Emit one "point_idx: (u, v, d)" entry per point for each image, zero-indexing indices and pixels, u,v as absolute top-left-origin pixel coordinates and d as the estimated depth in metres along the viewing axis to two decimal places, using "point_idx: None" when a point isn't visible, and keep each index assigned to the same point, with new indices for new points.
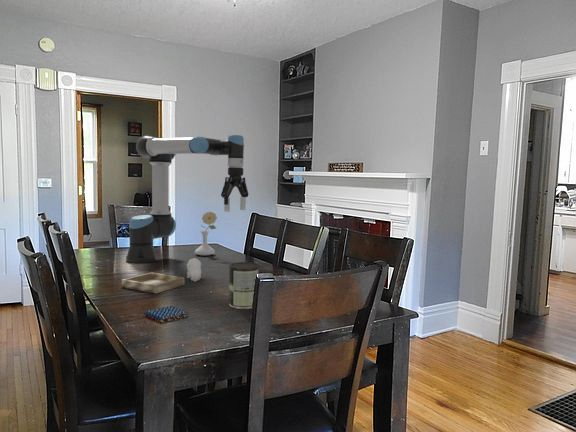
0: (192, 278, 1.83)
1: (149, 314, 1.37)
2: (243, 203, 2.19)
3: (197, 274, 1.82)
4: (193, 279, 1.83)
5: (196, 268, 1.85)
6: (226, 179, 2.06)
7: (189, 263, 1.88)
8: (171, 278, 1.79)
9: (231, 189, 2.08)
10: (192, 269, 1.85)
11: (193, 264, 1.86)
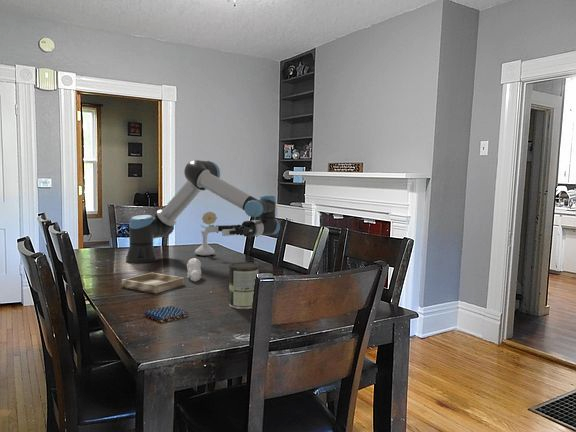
0: (192, 278, 1.83)
1: (149, 314, 1.37)
2: (212, 230, 2.00)
3: (197, 274, 1.82)
4: (193, 279, 1.83)
5: (196, 268, 1.85)
6: (250, 229, 1.98)
7: (189, 263, 1.88)
8: (171, 278, 1.79)
9: None
10: (192, 269, 1.85)
11: (193, 264, 1.86)
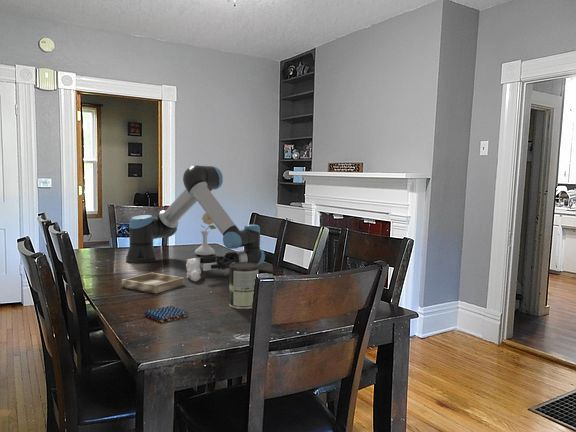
0: (192, 278, 1.83)
1: (149, 314, 1.37)
2: None
3: (197, 274, 1.82)
4: (193, 279, 1.83)
5: (196, 268, 1.85)
6: (233, 262, 1.92)
7: (189, 263, 1.88)
8: (171, 278, 1.79)
9: None
10: (192, 269, 1.85)
11: (193, 264, 1.86)
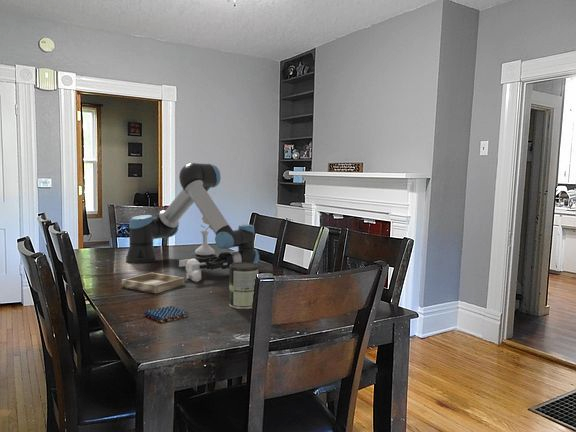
0: (194, 278, 1.82)
1: (149, 314, 1.37)
2: None
3: (199, 274, 1.82)
4: (195, 279, 1.82)
5: None
6: (225, 262, 1.90)
7: (189, 263, 1.86)
8: (171, 278, 1.79)
9: (213, 266, 1.89)
10: None
11: None
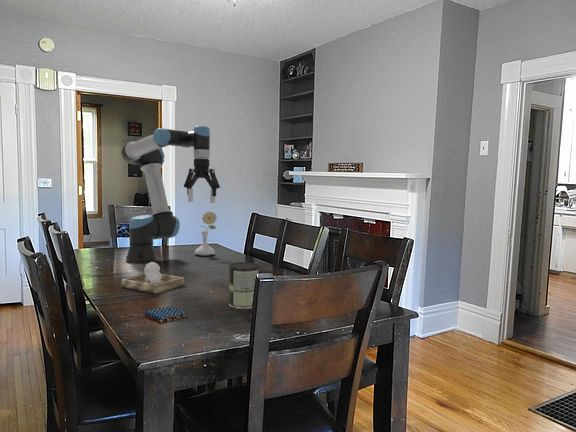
0: None
1: (149, 314, 1.37)
2: None
3: (158, 279, 1.68)
4: None
5: (156, 273, 1.70)
6: None
7: (147, 268, 1.72)
8: (171, 278, 1.79)
9: (191, 180, 2.13)
10: (151, 274, 1.70)
11: (152, 268, 1.71)
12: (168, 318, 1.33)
